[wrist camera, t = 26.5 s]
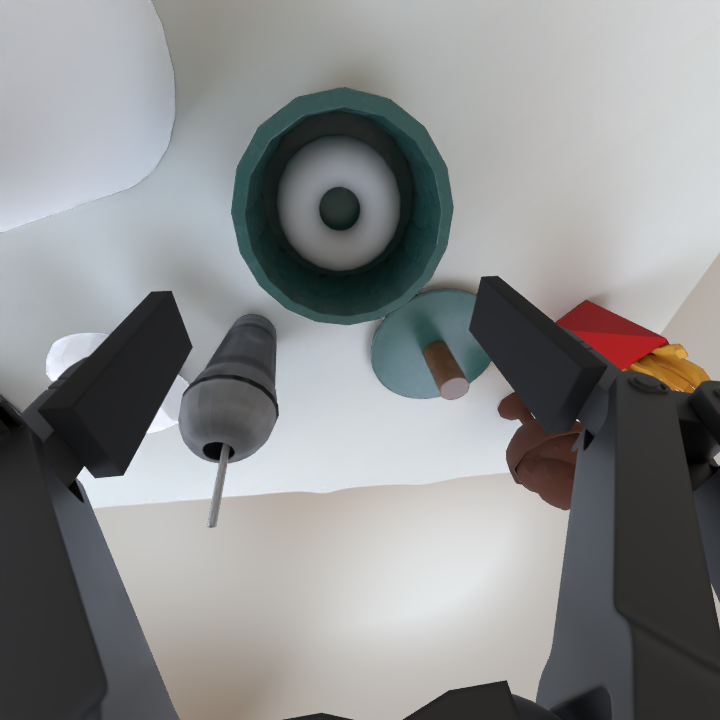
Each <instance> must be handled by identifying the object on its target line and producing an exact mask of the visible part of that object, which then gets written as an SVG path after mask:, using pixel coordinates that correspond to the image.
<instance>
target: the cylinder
mask: <svg viewBox="0 0 720 720" xmlns="http://www.w3.org/2000/svg"><path fill="white" fill-rule="evenodd" d="M175 115H176V110H175V82H174V71H173V67H172V63H171V59H170V55H169V50H168V46H167V42H166V38H165V34H164V30H163V26H162V24H161V21H160V19H159V17H158V15H157V12H156V10H155V8H154V5H153V3H152V1H151V0H0V233H1V232H4V231H7V230H10V229H13V228H16V227H19V226H22V225H24V224H27V223H30V222H33V221H36V220H39V219H42V218H45V217H48V216H50V215H53V214H56V213H59V212H62V211H65V210H68V209H71V208H74V207H77V206H79V205H82V204H85V203H88V202H91V201H94V200H97V199H100V198H103V197H106V196H108V195H111V194H114V193H117V192H120V191H123V190H126V189H129V188H132V187H134V186H135V185H136V184H137V183H139V182H140V181H141V180H143V179H144V178H145V177H146V176H148V175H149V174H150V173H152V172H153V171H154V170H155V168H156V166H157V165H158V163H159V161H160V160H161V158H162V156H163V155H164V153H165V151H166V150H167V148H168V146H169V141H170V137H171V132H172V128H173V124H174V119H175Z"/></svg>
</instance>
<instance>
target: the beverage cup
mask: <svg viewBox="0 0 720 720" xmlns="http://www.w3.org/2000/svg"><path fill="white" fill-rule="evenodd" d="M276 346H277V345H276V330H275V328H274V326H273V325H272V323H271V322H270V321H269V320H267V319H266V318H264V317H261V316H258V315H245V316H242V317H241V318H239V319H237V321H236V322H235V323H234V325H233V326H232V327H231V329H230V330H229V331H228V333H227V334H226V336H225V338H224V339H223V341H222V342H221V344H220V345H219V347H218V349H217V350H216V352H215V353H214V355H213V356H212V358H211V360H210V361H209V363H208V364H207V366H206V368H205V369H204V371H202V372H201V374H200V375H199V376H198V377H197V378H196V379H195V381H194V382H193V383H192V384H190V385H189V386H188V388H187V389H186V390H185V391H184V393H183V395H182V400H181V406H180V412H179V418H178V423H179V428H180V432H181V435H182V438H183V441H184V442H185V444H186V445H187V446H188V448H189V449H190V450H191V451H192V452H193V453H194V454H196V455H197V456H199V457H200V458H202V459H204V460H207V461H210V462H214V463H219V467H218V472H217V477H216V482H215V487H214V493H213V498H212V503H211V508H210V513H209V519H208V524H207V527H209V528H214V527H216V524H217V519H218V513H219V507H220V502H221V496H222V491H223V485H224V479H225V473H226V468H227V463H232V462H237V461H240V460H243V459H245V458H247V457H249V456H251V455H252V454H254V453H255V452H256V451H257V450H258V449H259V448H260V447H262V446H263V445H264V444H265V442H266V441H267V440H268V438H269V436H270V434H271V432H272V429H273V427H274V425H275V423H276V420H277V418H278V416H279V412H278V404H277V397H276V390H275V372H276Z"/></svg>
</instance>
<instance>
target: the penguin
mask: <svg viewBox="0 0 720 720" xmlns="http://www.w3.org/2000/svg"><path fill="white" fill-rule="evenodd" d="M108 336H109V334H103V333H79V334H73V335H68V336H65V337H63V338H61V339H59V340H58V341H56V342H55V343H53V345H52V347H51V349H50V352H49V354H48V356H47V358H46V365H47V368H46V369H47V371H46V374H47V375H48V376H49V378H50V379H51V381H52V382H54V381H55V380H58V379H57V378H58V377H59V376H60V375H61V374H62V373H63V372H64V371H65V370H66V369H67V368H68V367H70V366H71V365H73V364H75V363H76V362H78V361H80V360H81V359H83V358H84V357H89V356H90V355H91V354H92V353H93V352H94V351H95V350H96V349H97V348H98V346H99V345H100V344H101V343H102V342H103V341H104V340H105V339H106V338H107V337H108ZM188 386H189V383H187V381H186V380H184V379H183V377H182V376H180V375H179V374H178V375H177V377H176V379H175V381H174V383H173V385H172V386H171V388H170V390H169V392H168V394H167V396H166V398H165V399H164V401H163V403H162V405H161V407H160V409H159V410H158V412H157V414H156V416H155V418H154V420H153V422H152V423H151V425H150V427H149V429H148V431H147V433H155V432H158V431H161V430H164V429H166V428H169V427H171V426H173V425H176V424H179V423H178V418H179V412H180V406H181V400H182V395H183V393H184V391H185V390H186V389H187V388H188ZM147 433H146V434H147Z"/></svg>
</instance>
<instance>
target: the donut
mask: <svg viewBox="0 0 720 720" xmlns="http://www.w3.org/2000/svg"><path fill="white" fill-rule="evenodd" d="M334 187H344V188H347V189H349V190H350V191H352V192H353V193H354V194H355V196H356V197H357V198H358V201H359V204H360V215H359V218H358V220H357V221H356V223H355V224H354V225H353V226H352V227H351V228H349V229H346V230H342V231H337V230H333V229H331V228H329V227H328V226H326V225H325V224H324V222H323V221H322V219H321V216H320V212H319V205H320V201H321V199H322V197H323V195H324V194H325V193H326V192H327V191H328V190H330V189H332V188H334ZM400 203H401V196H400V192H399V188H398V184H397V180H396V177H395V174H394V172H393V171H392V169H391V167H390V166H389V164H388V163H387V161H386V159H385V158H384V156H383V155H382V154H380V153H379V152H378V151H377V150H376V149H374V148H373V147H372V146H371V145H369V144H368V143H367V142H365V141H362V140H359V139H356V138H354V137H351V136H348V135H330V136H322V137H320V138H318V139H316V140H314V141H311V142H309V143H307V144H305V145H303V146H302V147H301V148H300V149H299V150H298V151H297V152H296V153H295V154H294V156H293V157H292V158H291V159H290V160H289V161H288V163H287V165H286V167H285V169H284V171H283V173H282V176H281V178H280V180H279V184H278V193H277V201H276V204H277V210H278V216H279V221H280V226H281V228H282V230H283V232H284V234H285V236H286V238H287V240H288V242H289V244H290V245H291V246H292V247H293V248H294V249H295V250H296V251H297V252H298V253H299V255H300V256H301V257H302V258H304V259H305V260H307V261H309V262H311V263H312V264H314V265H316V266H317V267H320V268H324V269H329V270H333V271H344V270H354V269H356V268H359V267H361V266H364V265H366V264H369V263H370V262H371V261H373V260H374V259H375V258H376V257H378V256H379V255H380V254H381V253H383V252H384V250H385V249H386V247H387V246H388V244H389V243H390V241H391V240H392V238H393V237H394V234H395V231H396V228H397V225H398V222H399V219H400Z"/></svg>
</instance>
